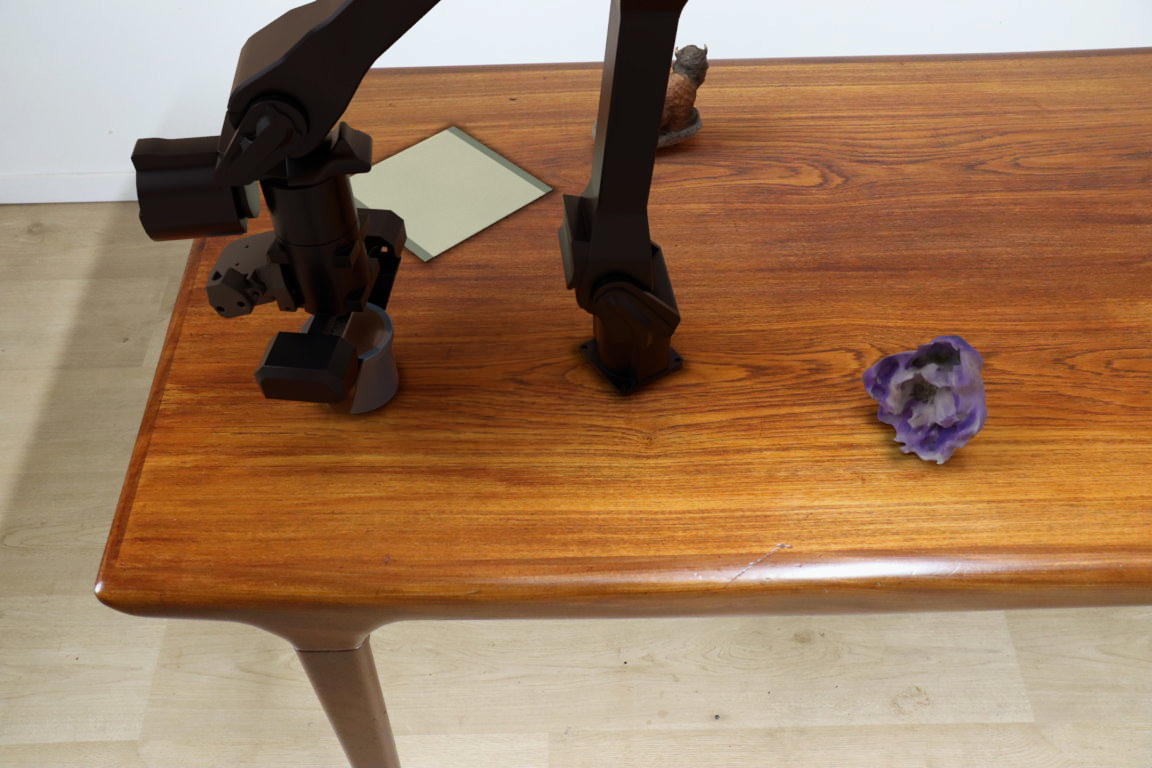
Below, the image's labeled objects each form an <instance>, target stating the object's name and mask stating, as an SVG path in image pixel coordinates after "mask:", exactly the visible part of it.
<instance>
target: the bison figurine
mask: <svg viewBox="0 0 1152 768" xmlns="http://www.w3.org/2000/svg"><path fill="white" fill-rule="evenodd" d="M703 47H704V48H701V47H698V46H697V45H696V44H687V45H686V46H683V47H682V48H680V49H679V47H678V46H676V47H675V48H674V57H675V61H674V62H672V64H671V69H672V72H670V76H669V82H668V87H667V93H666V99H665V105H664V111H663V117H662V123H661V128H660V134H659V140H658V146H657V149H659V148H662V147H670V146H673V145H676V144H679V143H682V142H684V141H687V140H689V139H692V138H694V137H695V135H697V133H699V131H701V130H702V128H703V121H702V120H701V115H700V111H699V110H698V108H697V107H695V103H696V100H697V91H698V89H699V88H700V87H701V86H702V85H703V84H704V82H705V81H706V76H707V72H708V69H710V65H709V62H708V61H707V60H708V51H709V50H708V45H707V44H706V43H704V44H703ZM596 126H597V118H596V119H595V121H594V122H593V125H592V128H591V136H592V139H593V142H594V143H595V135H596Z"/></svg>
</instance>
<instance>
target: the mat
mask: <svg viewBox="0 0 1152 768" xmlns="http://www.w3.org/2000/svg"><path fill="white" fill-rule="evenodd" d="M349 177H350V182H351V186H352V190H353V195H354V199H355V204H356V208H368V209H385V210H392V211H393V212H394V213H396V214H397V215H398V216H400V217H401V218H402V219H403V220H404V223H405V229H406V234H407V240H406V242H405V245H404V248H406V249H407V250H409V251H410V252H411V253H412V254H414V256H416V257H417V258H419V259H420V260H421V261H423V262H424V263H426V262H428V261H430V260H432V259H434V258H435V257H437V256H439V255H440V254H442V253H444V252H446V251H448V250H449V249H451V248H453V247H455V246H456V245H458V244H460V243H462V242H464V241H465V240H467V239H469V238H471V237H473V236H474V235H476V234H478V233H479V232H482V231H483V230H485V229H486V228H488V227H490V226H492V225H494V224H495V223H497V222H499V221H501V220H502V219H504V218H506V217H507V216H510V215H511V214H513V213H514V212H516V211H519V210H520V209H522V208H524V207H525V206H527V205H529V204H531V203H533V202H534V201H536V200H537V199H540V198H541V197H544V195H546V194H548V193H550V192H552V191H553V190H554V189H553V188H552V187H550V186H549V185H547V184H546V183H544V182H543V181H541V180H540V179H537V178H536V177H535V176H533V175H532V174H530V173H528V172H526V171H525V170H524V169H522V168H520V167H519V166H518V165H516V164H514V163H513V162H511V161H509V160H508V159H506V158H505V157H503V156H502V155H500V154H498V153H497V152H495V151H494V150H492V149H491V148H489V147H487V146H485V145H484V144H482V143H481V142H479V141H478V140H476V139H475V138H473V137H472V136H470V135H468V134H467V133H466V132H464V131H462V130H460V129H459V128H457V127H456V126H453V125H452V126H451V127H449V128H447V129H444V130H443V131H441V132H439V133H437V134H435V135H432V136H430V137H429V138H426V139H424V140H423V141H420V142H418V143H416V144H414V145H412V146H410V147H408V148H406V149H404V150H402V151H400V152H398V153H396V154H394V155H393V156H389V157H388V158H386V159H384V160H382V161H380V162H378V163H376V164H374V165H372V168H371V171H370V172H368V173H361V174H352V176H349Z"/></svg>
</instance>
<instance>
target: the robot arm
mask: <svg viewBox="0 0 1152 768" xmlns="http://www.w3.org/2000/svg"><path fill="white" fill-rule="evenodd" d="M441 1H442V0H314V1H311V2H309V3H305V4H303V5H300V6H296V7H294V8H291V9H289V10H288V11H285V13H283V14H281V15H280V16H278V17H277V18H275V19H273V20H272V21H271V22H269V23H267V24H266V25H265V26H263V27H262V28H260V29H258V30H257V31H256V32H254V33H252V35H250V36H249V37H248V38H247V39H246V41H245V43H244V44H243V45H242V47H241V48H240V52H239V56H238V60H237V64H236V68H235V72H234V76H233V80H232V84H231V89H230V92H229V97H228V100H227V105H226V109H227V110H226V111H225V115H224V119H223V123H222V127H221V131H220V134H219V135H207V136H205V135H204V136H193V137H181V138H179V137H177V138H163V137H144V138H137V139H136V141H135V144H134V146H133V149H132V153H131V155H130V161H131V163H132V165H133V167H134V170H135V189H136V190H135V191H136V198H137V203H138V207H139V212H138V218H139V221H140V223H141V226H142V228H143V230H144V232H145V234H147V237H148V238H149V239H150V240H152V241H153V242H154V243H155V242H157V243H159V242H170V241H171V242H173V241H182V240H183V241H184V240H185V241H186V240H196V239H208V238H220V237H221V238H222V237H231V236H243V235H244V234H247V233H248V221H249V219H252V220H253V219H258V218H259V215H260V213H261V194H260V189H261V192H262V195H263V198H264V201H265V205H266V208H267V211H268V215H269V218H270V221H271V224H272V227H273V230H271V229H270V230H268V231H264V232H263V231H262V232H259V233H256V234H251V235H248V236H244V237H240V238H237V239H234V240H233V241H232V240H231V242H229V243H228V244H226V245H225V246H224V248H223V249H222V251H221V252H220V254H219V256H218V258H217V260H216V261H215V263H214V265H213V267H212V268H211V270H210V271H209V274H208V275H207V282H206V284H205V285H204V287H205V288H204V290H205V292H206V296H207V300H208V302H207V303H208V305H209V306H210V307H212V309H213V310H214V311H215V312H216V314H217V315H218V316H220V317H221V318H224V319H227V320H228V319H234V318H238V317H239V318H240V317H243V316H247V315H251V314H252V313H253V312H254V309H255V307H258V306H263V305H266V304H270V303H273V302H276V305H277V307H278V310H279V312H287V313H296V312H297V311H298V309H303V311H304V312H305V313H307V314H309V315H310V316H311V315H314V319H313V321H312V323H311V325H310V328H309V330H308V332H307V333H299V332H294V331H281V330H279V331H278V332H277V333H276V334H274V335H273V336H272V337H271V338H270V339H269V341H268V343H267V345H266V348H265V349H264V352H263V353H262V355H261V358H260V360H259V361H258V364H257V366H256V368H255V370H254V373H253V376H254V378H255V381H256V384H257V386H258V389H259V391H260V393H261V395H262V396H263V397H264V399H266V400H278V401H289V402H290V401H291V402H300V403H301V402H302V403H313V404H314V403H315V404H325V403H326V404H327V405H328V407H329V408H330V407H331V408H330V409H331V410H332V411H333V412H334V413H336V414H337V415H345V416H347V415H348V416H349V415H351V414H350V412H351V409H352V406H353V402H354V398H355V394H356V390H357V386H358V382H359V377H360V374H361V370H362V366H363V362H364V359H362V358H358V354H357V350H356V346H355V345H353V344H352V343H350V342H349V341H347V340H346V339H344V337H345V335H346V332H347V330H348V327H349V325H350V322H351V319H352V317H353V314H354V312H363V311H364V309H365V306H366V304H367V302H368V303H372V304H374V305H377V306H378V307H380V308H382V309H383V310H384V311H385V312H387V307H388V304H389V301H390V298H391V294H392V291H393V287H394V284H395V281H396V278H397V274H398V271H399V268H400V264H401V261H402V253H403V250H404V248H405V246H404V245H405V242H406V240H407V234H406V229H405V223H404V220H403V219H402V218H401V217H400V216H398V215H397V214H396V213H394V212H393V211H392V210H385V209H368V208H356V204H355V199H354V195H353V190H352V186H351V182H350V177H351V176H350V175H355V174H361V173H368V172H370V171H371V168H372V166H373V145H374V139H373V137H372V136H371V135H369V134H367V133H366V132H364V131H362V130H359V129H356V128H354V127H351V126H350V125H349V124H348V122H346V121H344V120H341V121H340V119H341V117H343V115H344V114H345V112H346V111H347V109H348V107H349V105H350V103H351V102H352V100H353V98H354V96H355V94H356V92H357V91H358V89H359V87H360V86H361V84H362V81H363V80H364V78H365V76H366V75H367V74H368V72H369V71H370V70H371V68H372V67H373V65H374V64H375V62H376V61H377V60H378V59H379V58H380V57H382V55H384V54H385V53H386V52H387V51H388V50H389V49H390V48H391V47H392V46H393V45H395V44H396V43H397V42H398V41H399V40H400V39H401V38H402V37H403V36H404V35H405V34H407V32H408V31H409V30H411V29H412V28H413V27H414V26H415V25H417V23H418V22H420V20H421V19H423V18H424V17H425V16H426V15H427V14H428V13H429V12H430V11H432V10H433V9H434V8H435V7H436V6H437V5H438V4H439V3H440V2H441ZM688 2H689V0H610V5H609V12H608V21H607V30H606V40H605V49H604V57H603V66H602V75H601V83H600V93H599V100H598V109H597V117H596V119H597V126H596V135H595V142H594V145H593V153H592V160H591V161H592V162H591V171H590V178H589V180H588V183H587V185H586V186H585V188H584V190H583V191H582V193H581V194H580V195H573V194H569V193H568V194H567V193H563V194H562V195H561V197H562V205H563V207H562V208H563V219H562V223H561V225H560V227H559V229H558V231H557V236H558V237H557V238H558V243H559V250H560V257H561V263H562V267H563V274H564V279H565V285H566V290H567V291H572V290H573V289H574V294H575V302H576V303H577V305H578V308H580V309H582V310H584V311H585V312H586V313H587V314H590V315H592V335H593V338H591V339H588V340H586V341H584V342H583V343H580V344H579V345H578V353H579V354H580V355H581V357H583V358H584V360H585V361H586V362H587V363H588V364H589V365H590V366H591V367H592V368H593V370H595V372H596V373H597V374H598V375H599V376H600V377H601V378H602V379H603V380H604V381H605V382H606V383H607V384H608V386H610V387H611V388H612V390H614V392H615V393H616V394H617V395H619V396H620V397H625V396H628V395H629V394H631V393H633V392H635V391H637V390H639V389H642V388H643V387H646V386H647V385H649V384H650V383H653V382H655V381H656V380H658V379H660V378H663V377H664V376H667V375H669V374H671V373H672V372H674V371H676V370H679V369H680V368H682V367H683V366H684V362H685V361H684V358H683V357H682V356H681V355H680V353H678V352H677V350H675V349H674V348H673V347H672V346H671V344H672V343H671V342H672V337H673V336H674V333H675V332H676V330H677V328H678V327H679V325H680V323H681V321H682V317H681V314H680V310H679V307H678V303H677V300H676V296H675V293H674V289H673V285H672V282H671V279H670V275H669V272H668V267H667V264H666V260H665V257H664V253H663V250H662V247H661V246H660V245H659V244H658V243H656V242H655V241H653V240H652V239H651V233H650V224H649V214H648V204H649V199H650V193H651V187H652V180H653V176H654V175H653V174H654V171H655V170H654V169H655V162H656V159H657V158H656V157H657V151H658V148H657V146H658V140H659V134H660V128H661V123H662V117H663V111H664V105H665V99H666V93H667V87H668V82H669V76H670V73H671V69H672V64H673V58H674V53H675V46H676V39H677V35H678V28H679V23H680V19H681V15H682V13H683V11H684V8H685V6H686V5H687V4H688ZM338 121H339V122H338ZM337 123H338V124H337ZM336 124H337V125H336ZM334 127H335V128H334ZM333 128H334V129H333ZM259 186H260V188H259ZM384 248H386V251H385V250H384ZM326 404H325V405H326ZM327 405H326V406H327Z"/></svg>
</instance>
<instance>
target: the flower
mask: <svg viewBox="0 0 1152 768" xmlns="http://www.w3.org/2000/svg"><path fill="white" fill-rule="evenodd" d="M916 347H917V348H916V349H917V350H905V351H900V352H897V353H894V354H890V355H886V356H884V357H883V358H881V359H880V360H878V361H876V363H874V364H872V365H871V366H870V367H868V368H866V369H865V370H864V371H863V372H862V375H861V381H862V383H863V389H864V391H865V393H866V394H867V395H868V396H869V397H870V398H871V399H872V400H874V401H875V402H876V403H877V404H878V409H877V420H878V421H879V422H882V423H884V424H887V425H891V426H892V427H893V428H894V430H895V431H896V432H895V433H896V435H895V437H894V438H893V441H894V442H896V443H904V444H905V445H903V446H899V450H900V451H901V453H903V454H908V453H912V452H913V453H915V454H916V455H917V456H918V457H919V459H921V460H922V461H924V462H927V461H936V464H938V465H942V464H944V463H946V462H947V461H948V460H950V458H951V457H952V456H953V455H954V454H955V452H956V450H957V449H961V450H962V449H963V448H964V447H965V446H966V445H967V443H968V442H969V441H970V440H972V439H973V438H974V437H976V436H977V435H978V434H979V433H980V432H981V431H982V430H983V428H984V426H985V424H986V421H987V418H988V409H987V406H986V405H987V403H986V391H985V384H984V380H983V377H982V376H981V372H982V370H983V364H984V360H983V356H982V355H981V354H980V352H979V351H978V350H977V349H975V348H974V347H973V346H972V345H971V344H970V343H968V342H967V341H966V340H964V338H962V337H961V336H960V335H957V334H951V335H938V336H936V337H934V338H932V339H931V341H930V342H927V343H924V344H918V345H917V346H916Z"/></svg>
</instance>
